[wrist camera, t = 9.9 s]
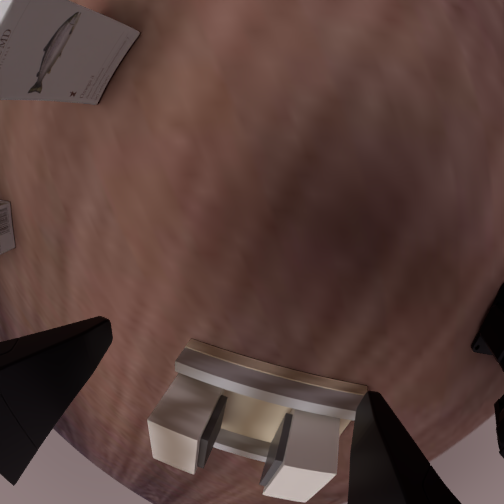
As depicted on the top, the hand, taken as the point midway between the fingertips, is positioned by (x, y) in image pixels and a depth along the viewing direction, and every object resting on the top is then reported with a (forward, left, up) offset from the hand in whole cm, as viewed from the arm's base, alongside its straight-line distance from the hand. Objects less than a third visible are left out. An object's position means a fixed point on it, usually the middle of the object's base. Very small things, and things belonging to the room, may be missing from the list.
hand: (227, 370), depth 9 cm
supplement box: (+19, -13, -12) cm, 26 cm away
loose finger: (-7, +16, -11) cm, 20 cm away
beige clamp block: (-2, +16, -12) cm, 20 cm away
